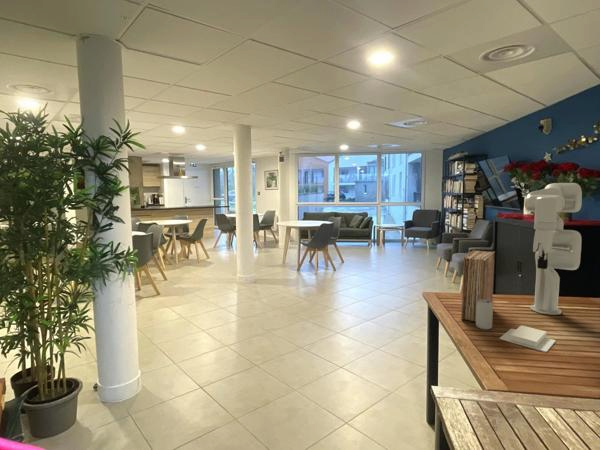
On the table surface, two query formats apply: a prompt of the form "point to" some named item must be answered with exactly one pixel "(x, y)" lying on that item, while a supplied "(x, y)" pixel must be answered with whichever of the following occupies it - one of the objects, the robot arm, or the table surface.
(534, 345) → the glazed tile
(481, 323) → the beverage can
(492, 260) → the book
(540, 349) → the mat
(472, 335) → the table surface
